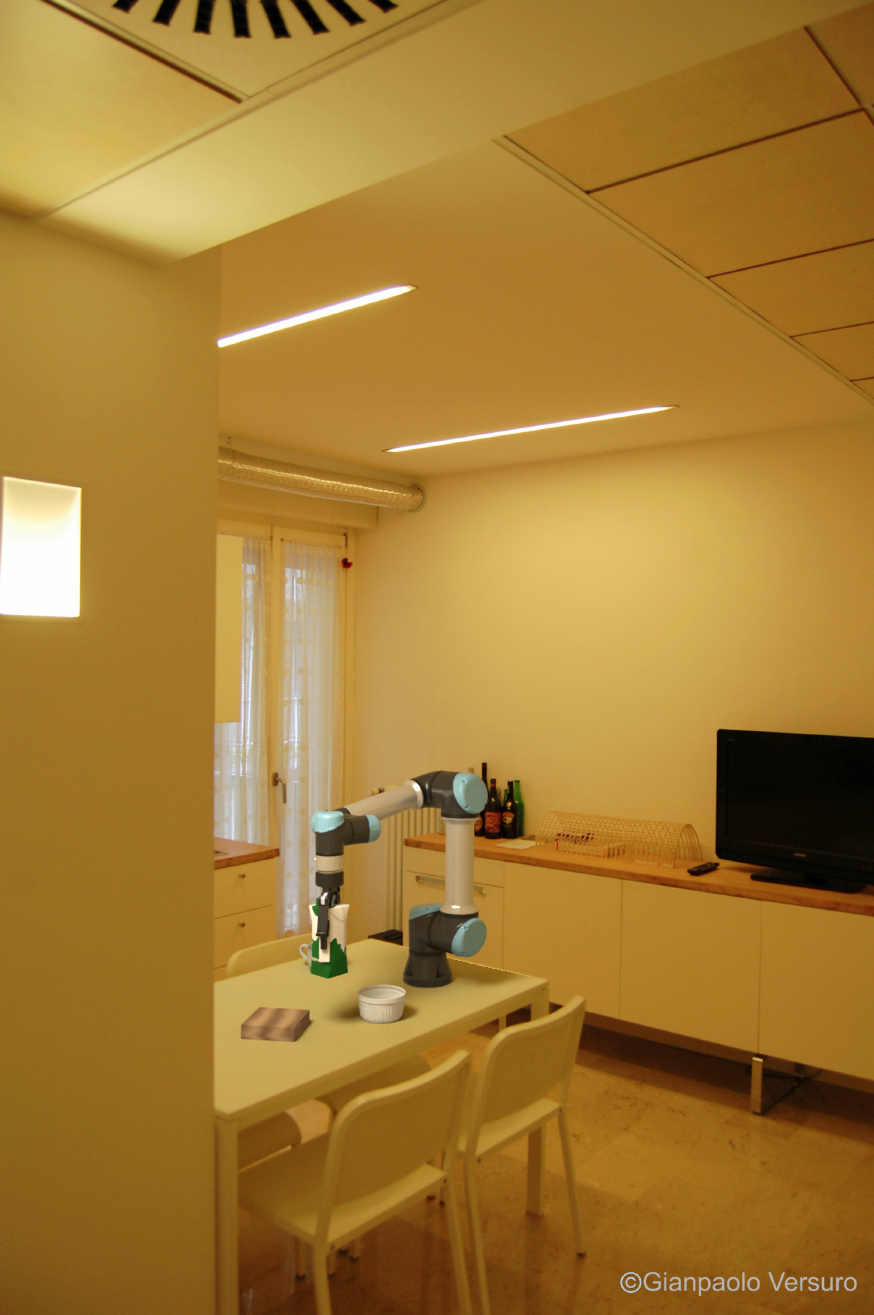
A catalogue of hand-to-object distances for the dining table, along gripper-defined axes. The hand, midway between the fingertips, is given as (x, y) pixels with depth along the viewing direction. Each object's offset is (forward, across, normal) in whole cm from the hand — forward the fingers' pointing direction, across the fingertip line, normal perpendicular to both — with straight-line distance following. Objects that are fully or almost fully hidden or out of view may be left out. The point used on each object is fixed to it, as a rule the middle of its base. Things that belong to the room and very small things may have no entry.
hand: (329, 956), depth 253 cm
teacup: (+19, -52, -17) cm, 58 cm away
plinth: (+19, +4, -13) cm, 24 cm away
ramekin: (+19, -11, +12) cm, 25 cm away
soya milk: (+5, 0, 0) cm, 5 cm away
